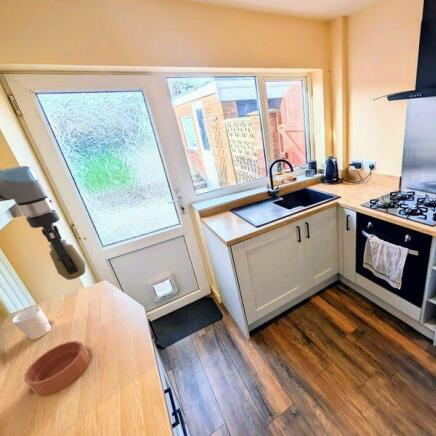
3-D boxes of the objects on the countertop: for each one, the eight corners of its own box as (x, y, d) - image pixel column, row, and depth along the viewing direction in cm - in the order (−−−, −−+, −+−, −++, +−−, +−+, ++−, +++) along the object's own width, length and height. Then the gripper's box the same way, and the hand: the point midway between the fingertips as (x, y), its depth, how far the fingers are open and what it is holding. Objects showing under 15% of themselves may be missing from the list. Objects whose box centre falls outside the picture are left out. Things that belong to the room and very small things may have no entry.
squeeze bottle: (57, 281, 91) (30, 239, 83) (78, 268, 98) (55, 228, 90) (73, 282, 89) (48, 239, 81) (94, 269, 96) (72, 228, 88)
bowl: (34, 375, 81) (24, 363, 79) (86, 345, 90) (79, 333, 88) (35, 407, 72) (24, 394, 69) (94, 370, 81) (86, 358, 78)
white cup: (34, 343, 94) (19, 324, 90) (22, 338, 96) (7, 320, 92) (57, 326, 100) (44, 308, 96) (45, 322, 103) (32, 305, 99)
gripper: (57, 215, 78) (89, 273, 87) (51, 203, 92) (79, 254, 101) (25, 224, 73) (62, 284, 83) (24, 210, 87) (56, 263, 96)
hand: (72, 268), depth 92 cm, fingers closed on squeeze bottle, 8 cm apart
